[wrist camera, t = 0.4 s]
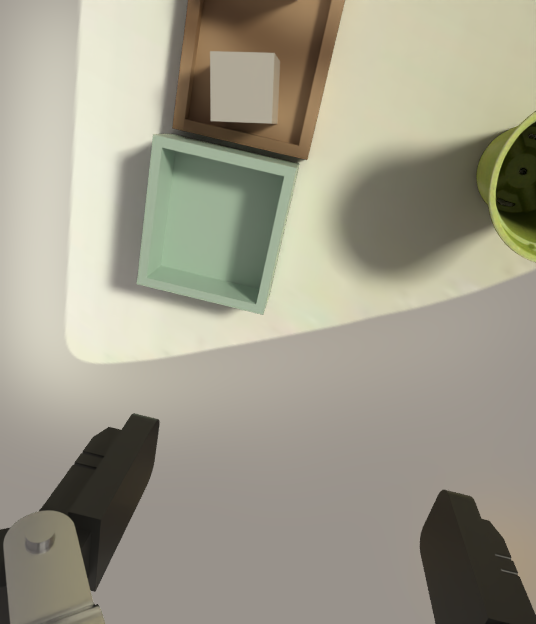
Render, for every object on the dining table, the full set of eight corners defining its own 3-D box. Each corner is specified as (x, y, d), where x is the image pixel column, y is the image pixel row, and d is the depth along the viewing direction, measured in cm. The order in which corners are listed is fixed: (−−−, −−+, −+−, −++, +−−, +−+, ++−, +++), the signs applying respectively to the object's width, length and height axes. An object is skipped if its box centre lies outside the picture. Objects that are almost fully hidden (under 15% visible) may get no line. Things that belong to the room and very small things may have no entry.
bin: (170, 133, 35) (153, 134, 32) (299, 163, 35) (296, 168, 31) (154, 269, 40) (136, 284, 36) (268, 297, 39) (263, 314, 36)
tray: (210, -123, 29) (205, -135, 28) (365, -89, 29) (367, -99, 28) (178, 128, 35) (172, 128, 34) (307, 158, 35) (307, 159, 33)
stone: (223, 59, 32) (210, 51, 29) (280, 61, 32) (274, 52, 28) (223, 121, 34) (210, 120, 30) (277, 123, 34) (271, 123, 30)
